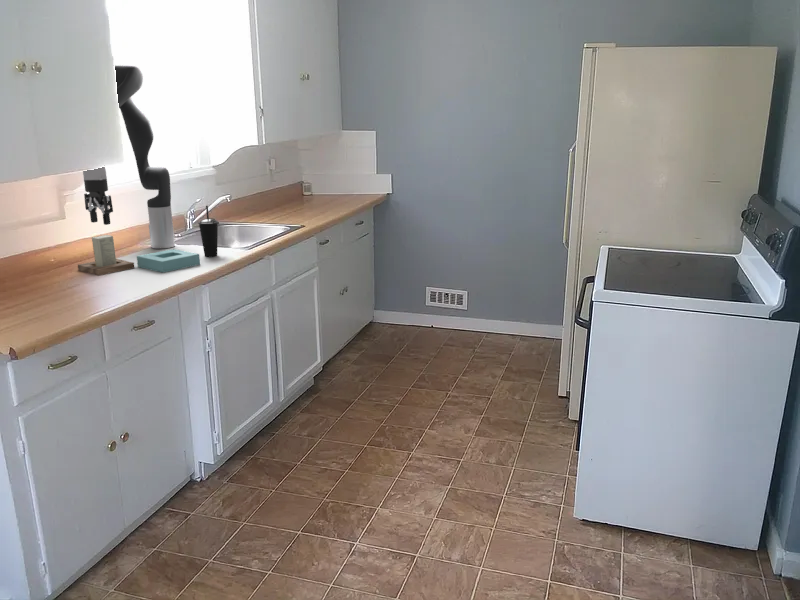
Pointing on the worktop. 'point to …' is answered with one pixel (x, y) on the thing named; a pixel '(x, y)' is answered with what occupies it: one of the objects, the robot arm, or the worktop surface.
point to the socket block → (168, 260)
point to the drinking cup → (209, 235)
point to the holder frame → (106, 267)
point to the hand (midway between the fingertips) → (100, 223)
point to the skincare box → (104, 250)
